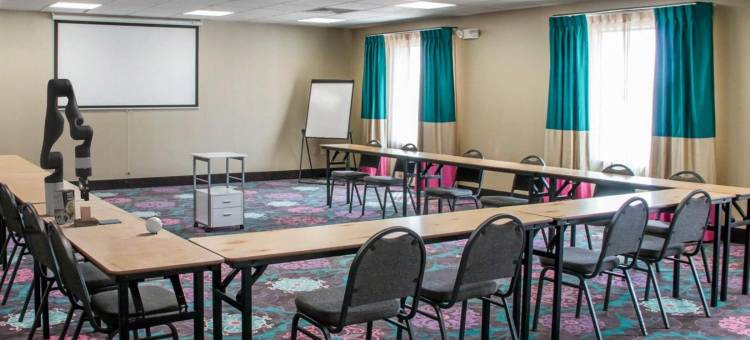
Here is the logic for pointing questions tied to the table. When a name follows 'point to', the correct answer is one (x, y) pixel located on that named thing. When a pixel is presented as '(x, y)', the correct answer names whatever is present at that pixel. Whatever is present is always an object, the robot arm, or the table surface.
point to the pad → (109, 221)
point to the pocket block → (85, 222)
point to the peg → (85, 213)
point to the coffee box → (64, 206)
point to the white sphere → (153, 225)
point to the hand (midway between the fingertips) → (84, 199)
